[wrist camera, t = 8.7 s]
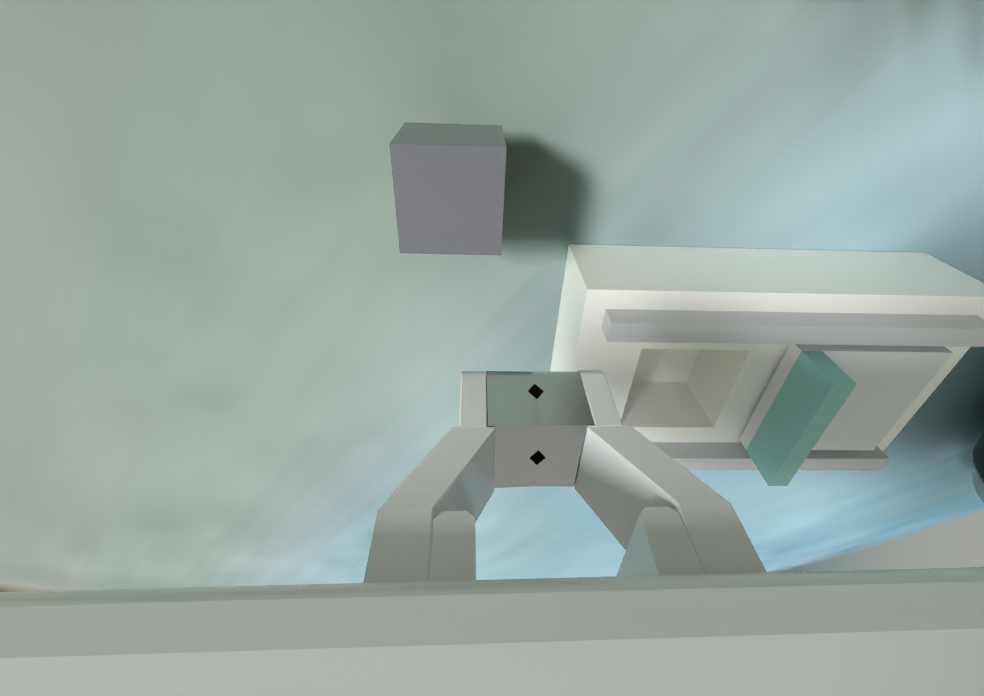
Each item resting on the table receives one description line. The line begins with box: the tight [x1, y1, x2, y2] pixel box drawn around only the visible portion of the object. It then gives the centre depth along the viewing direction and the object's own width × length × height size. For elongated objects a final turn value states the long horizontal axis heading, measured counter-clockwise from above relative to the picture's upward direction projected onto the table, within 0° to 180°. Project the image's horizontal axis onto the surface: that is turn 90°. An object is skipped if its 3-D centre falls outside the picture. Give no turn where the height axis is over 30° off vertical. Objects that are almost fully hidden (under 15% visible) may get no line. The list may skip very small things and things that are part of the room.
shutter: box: [739, 344, 953, 486], centre depth 22 cm, size 7×8×3 cm
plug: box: [390, 123, 507, 255], centre depth 19 cm, size 4×4×6 cm
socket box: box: [550, 244, 984, 470], centre depth 25 cm, size 12×20×6 cm, turn 88°
